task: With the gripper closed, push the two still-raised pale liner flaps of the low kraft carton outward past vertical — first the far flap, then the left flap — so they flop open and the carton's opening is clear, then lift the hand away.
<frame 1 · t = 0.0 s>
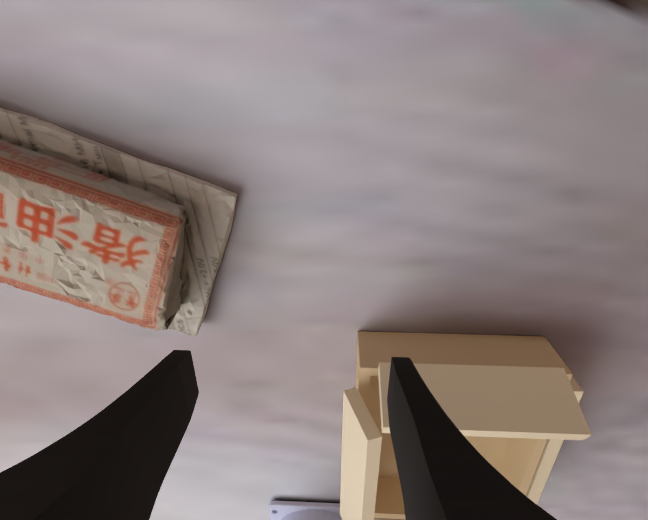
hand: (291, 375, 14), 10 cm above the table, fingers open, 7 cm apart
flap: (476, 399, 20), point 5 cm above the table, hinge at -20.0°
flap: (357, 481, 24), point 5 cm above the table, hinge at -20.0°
carton: (435, 413, 28), on the table
packaged product: (77, 211, 23), on the table
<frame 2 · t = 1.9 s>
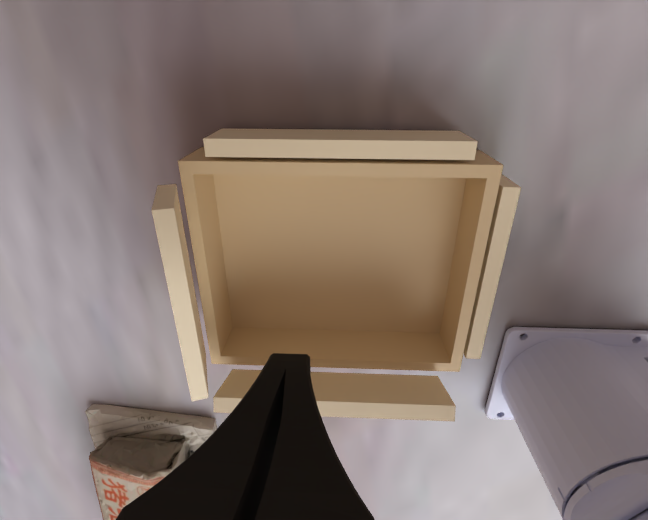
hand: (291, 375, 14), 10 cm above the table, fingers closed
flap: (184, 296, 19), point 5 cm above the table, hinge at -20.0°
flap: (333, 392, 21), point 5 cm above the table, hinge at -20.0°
carton: (336, 250, 23), on the table
packaged product: (166, 474, 35), on the table
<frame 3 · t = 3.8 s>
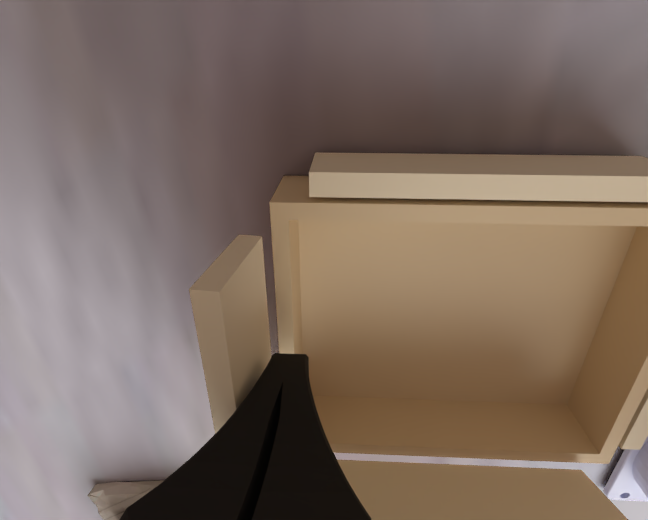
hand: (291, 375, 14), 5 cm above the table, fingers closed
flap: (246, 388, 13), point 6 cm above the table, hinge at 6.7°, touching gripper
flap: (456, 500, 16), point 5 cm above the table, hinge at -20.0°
carton: (445, 305, 18), on the table
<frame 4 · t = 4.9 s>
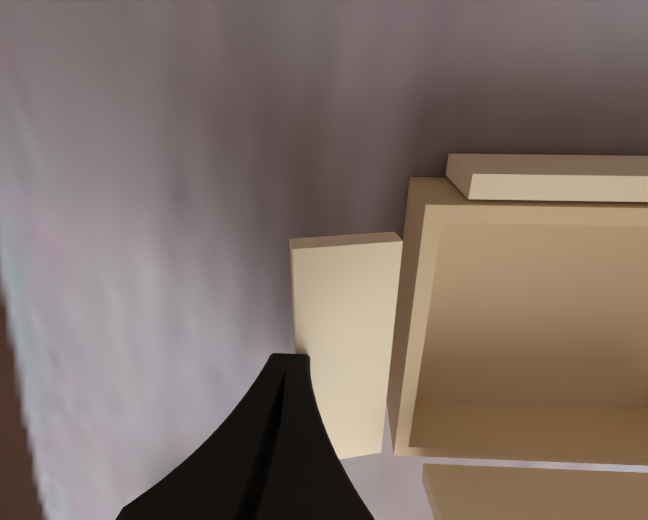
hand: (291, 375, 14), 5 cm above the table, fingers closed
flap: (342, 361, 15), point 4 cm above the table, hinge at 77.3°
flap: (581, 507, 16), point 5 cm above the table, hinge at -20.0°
carton: (556, 308, 18), on the table
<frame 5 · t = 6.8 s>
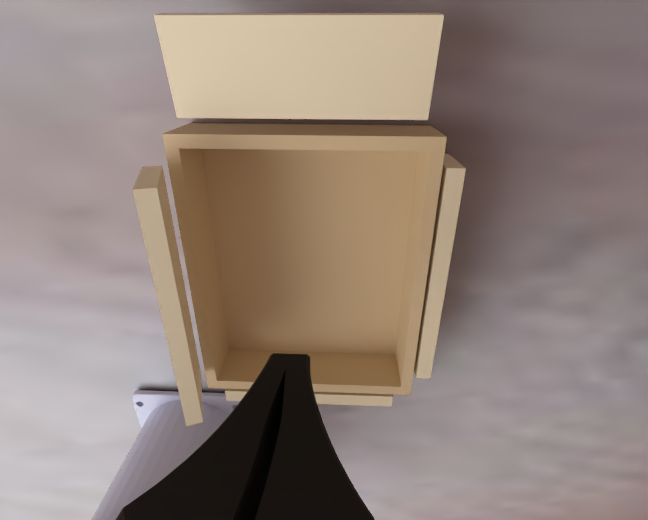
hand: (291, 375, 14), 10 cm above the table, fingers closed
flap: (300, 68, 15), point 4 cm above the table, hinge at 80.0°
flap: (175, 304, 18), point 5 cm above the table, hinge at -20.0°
carton: (310, 255, 23), on the table
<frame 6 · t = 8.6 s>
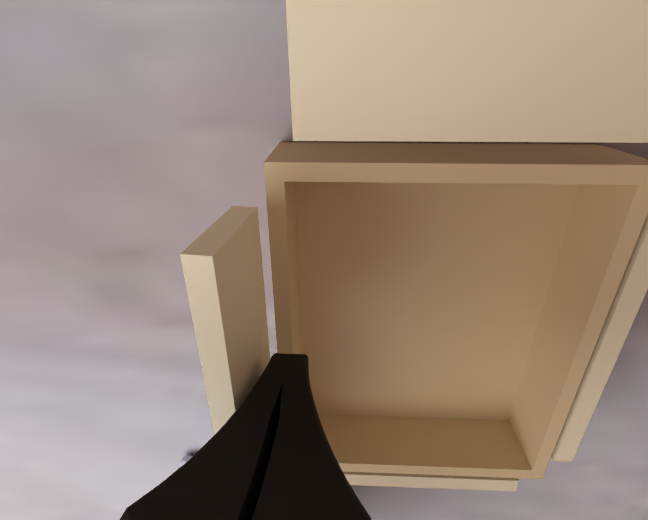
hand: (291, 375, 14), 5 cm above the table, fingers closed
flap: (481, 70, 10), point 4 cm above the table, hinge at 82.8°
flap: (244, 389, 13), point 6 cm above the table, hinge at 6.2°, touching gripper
carton: (416, 304, 18), on the table
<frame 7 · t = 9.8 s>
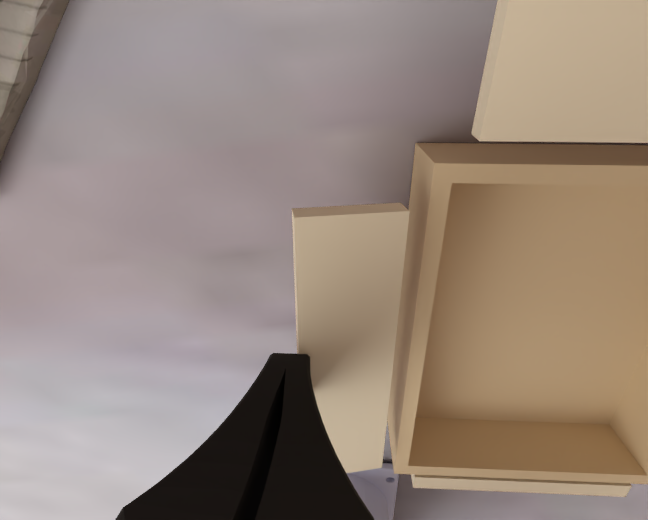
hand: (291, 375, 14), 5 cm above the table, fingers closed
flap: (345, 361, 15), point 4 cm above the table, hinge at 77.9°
carton: (529, 307, 18), on the table
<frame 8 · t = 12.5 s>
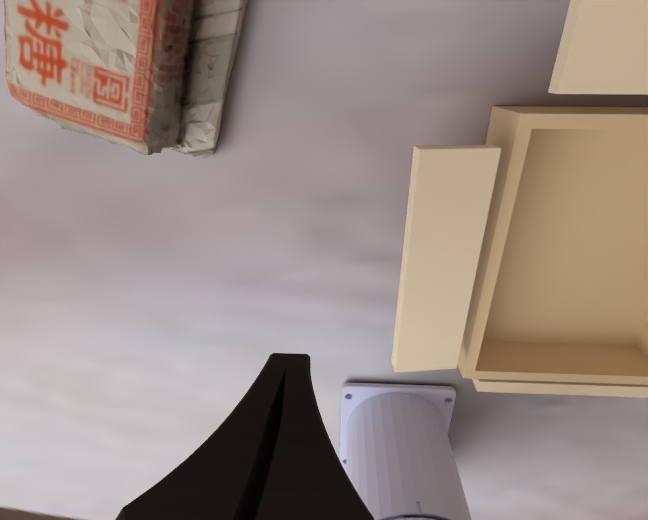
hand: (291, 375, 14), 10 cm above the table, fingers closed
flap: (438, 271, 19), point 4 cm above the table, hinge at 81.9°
carton: (573, 243, 22), on the table
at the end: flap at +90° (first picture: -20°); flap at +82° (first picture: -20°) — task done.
